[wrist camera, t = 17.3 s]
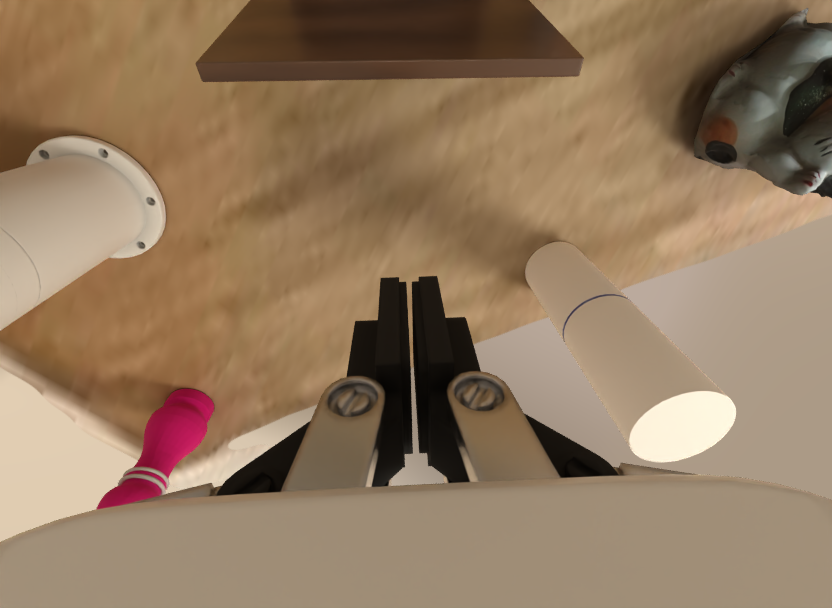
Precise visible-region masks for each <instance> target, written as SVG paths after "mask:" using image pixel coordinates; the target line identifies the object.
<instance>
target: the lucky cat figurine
mask: <svg viewBox="0 0 832 608" xmlns="http://www.w3.org/2000/svg"><path fill="white" fill-rule="evenodd" d="M807 12H808V8H807V9H805V10H802V11H800V12H798V13H796V14H794V15H792V16H791V17H790V18H789V19H788V20H787V21H786V22H785V23H784V24H783V25H782V26H781V27H780V28H779V29H778V30H777V31H776V32H775V33H774V34H773V35H772V36H770V37H769V38H768V39H767V40H766V41H765V42H763V43H762V44H760V45H759V46H757V47H756V48H754V49H753V50H751V51H750V52H748V53H747V54H745V55H744V56H742V57H741V58H739V59H738V60H736V61H735V63H733V64H732V65H731V67H730V68H729V69H728V70H727V72H726V73H725V74H724V75H723V76H722V77H721V78H720V79H719V81H718V83H717V85H716V86H715V88H714V90H713V91H712V93H711V96H710V98H709V101H708V104H707V106H706V108H705V110H704V113H703V117H702V119H701V122H700V125H699V128H698V130H697V131H698V132H697V135H696V137H695V138H694V139H695V140H694V156H695V157H696V158H699V159H702V160H706V161H708V162H710V163H713V164H715V165H718V166H720V167H722V168H727V169H733V168H740V169H747V170H751V171H756V172H757V173H758V174H760V175H761V176H762V177H764V178H766V179H767V180H770V181H772V182H773V184H774V185H775V186H778V187H780V188H783V189H785V190H787V191H789V192H791V193H793V194H797V195H803V194H807V193H809V192H811V193H819V194H820V195H821V197H825V196H828V197H831V198H832V23H817V24H815V23H807V20H806V14H807Z"/></svg>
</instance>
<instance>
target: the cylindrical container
mask: <svg viewBox="0 0 832 608" xmlns="http://www.w3.org/2000/svg"><path fill="white" fill-rule="evenodd" d="M525 277H526V281H527V283H528V284H529V286H530V288H531V289H532V291H533V292H534V294H535V296H536V297H537V299H538V300H539V302H540V304H541V305H542V307H543V309H544V310H545V312H546V313H547V315H548V317H549V318H550V320H551V321H552V323H553V325H554V326H555V328H556V329H557V331H558V333H559V334H560V336H561V337H562V339H563V341H564V342H565V344H566V345H567V347H568V349H569V350H570V352H571V353H572V355H573V357H574V358H575V360H576V361H577V363H578V365H579V366H580V368H581V370H582V371H583V373H584V374H585V376H586V378H587V379H588V381H589V382H590V384H591V386H592V387H593V389H594V390H595V392H596V394H597V395H598V397H599V398H600V400H601V402H602V403H603V405H604V406H605V408H606V410H607V411H608V413H609V414H610V416H611V417H612V419H613V421H614V422H615V424H616V425H617V427H618V429H619V430H620V432H621V434H622V435H623V437H624V438H625V440H626V441H627V443H628V445H629V446H630V448H631V450H632V451H633V453H634V454H636V455H637V456H638V457H640V458H642V459H644V460H648V461H652V462H670V461H677V460H681V459H685V458H689V457H691V456H693V455H696V454H698V453H701V452H702V451H705V450H706V449H708V448H709V447H711V446H713V445H714V444H715V443H717V442H718V441H719V440H720V439H722V438H723V437H724V436H725V434H726V433H727V432H728V431H729V430H730V428H731V426H732V425H733V423H734V420H735V417H736V409H735V405H734V403H733V402H732V401H731V399H730V398H729V397H727V395H726V394H725V393H724V392H723V391H722V390H721V389H720V388H718V386H717V385H716V384H714V382H712V380H710V379H709V378H708V377H707V376H706V375H705V374H704V373H703V372H702V371H701V370H700V369H699V368H698V367H697V366H696V365H695V364H694V363H693V362H692V361H691V360H690V359H689V358H688V357H687V356H686V355H685V354H684V353H683V352H682V351H681V350H680V349H679V348H678V347H677V346H676V345H675V344H674V343H673V342H672V341H671V340H670V339H669V338H668V337H667V336H666V335H665V334H664V333H663V332H662V331H661V330H660V329H659V328H658V327H657V326H655V324H654V323H653V322H651V320H649V318H648V317H646V316H645V314H643V313H642V312H641V311H640V310H639V309H638V308H637V307H636V306H635V305H634V304H633V303H632V302H631V301H630V300H629V299H628V298H627V297H626V296H625V295H624V294H623V293H622V292H621V291H620V290H619V289H618V288H617V287H616V286H615V285H614V284H613V283H612V282H611V281H610V280H609V279H608V278H607V277H606V276H605V275H604V274H603V273H602V272H601V271H600V270H599V269H598V268H597V267H596V266H595V265H594V264H593V263H592V262H591V261H590V260H589V259H588V258H587V257H586V256H585V255H584V254H583V253H582V252H581V251H580V250H579V249H578V248H576V247H575V246H574V245H572V244H570V243H567V242H553V243H549V244H546V245H544V246H542V247H541V248H539V249H538V250H537V251H535V252H534V254H533V255H532V256H531V257H530V259H529V260H528V263H527V265H526V269H525Z"/></svg>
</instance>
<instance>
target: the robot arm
mask: <svg viewBox="0 0 832 608" xmlns="http://www.w3.org/2000/svg"><path fill="white" fill-rule="evenodd" d="M107 152H108V153H107ZM153 199H154V200H153ZM165 223H166V211H165V205H164V202H163V198H162V195H161V193H160V191H159V189H158V187H157V185H156V184H155V182H154V181H153V179H152V178H151V177H150V175H149V174H148V173H147V172H146V171H145V169H144V168H143V167H142V166H141V165H140V164H139V163H138V162H137V161H135V160H134V159H133V158H132V157H130V156H129V155H128V154H127V153H125V152H123V151H122V150H120V149H118V148H117V147H115V146H113V145H111V144H109V143H106V142H104V141H102V140H99V139H95V138H91V137H87V136H76V135H71V136H63V137H58V138H54V139H50V140H48V141H46V142H44V143H42V144H40V145H39V146H38V147H37V148H36V149H35V150H34V151H33V152H32V153H31V155H30V157H29V159H28V160H27V164H26V166H23V167H19V168H16V169H12V170H8V171H5V172H1V173H0V331H1V330H2V329H3V328H5V327H6V326H8V325H9V324H11V323H12V322H14V321H15V320H16V319H18V318H19V317H21V316H22V315H24V314H25V313H27V312H28V311H30V310H31V309H33V308H34V307H36V306H37V305H39V304H40V303H42V302H43V301H45V300H46V299H48V298H49V297H51V296H52V295H54V294H55V293H57V292H58V291H60V290H61V289H63V288H64V287H66V286H67V285H69V284H70V283H71V282H73V281H74V280H76V279H77V278H79V277H80V276H82V275H83V274H85V273H86V272H88V271H89V270H91V269H92V268H94V267H95V266H97V265H98V264H100V263H101V262H102V261H104V260H105V259H107V258H128V257H133V256H136V255H139V254H142V253H144V252H145V251H147V250H148V249H150V248H151V247H152V246H153V245H155V244H156V243H157V242H158V240H159V239H160V237H161V236H162V234H163V231H164V229H165ZM412 314H413V359H414V376H415V392H416V408H417V424H418V440H419V453H427V455H428V466H432V467H434V468H435V469H437V470H438V471H439V472H440V473H442V474H443V475H444V483H443V484H422V485H404V486H391V478H392V477H393V476H394V475H395V474H396V473H397V472H399V471H400V470H401V469H402V468H403V467H405V461H404V460H405V458H404V454H412V453H413V447H412V407H411V372H410V371H411V368H410V346H409V327H408V308H407V289H406V282H399V277H395V278H381V282H380V297H379V312H378V320H373V321H356V322H355V326H354V332H353V339H352V345H351V352H350V358H349V365H348V371H347V377H346V378H342V379H340V380H338V381H336V382H334V383H332V384H331V385H330V386H329V387H327V388H326V390H325V391H324V393H323V394H322V396H321V398H320V400H319V403H318V405H317V408H316V410H315V413H314V415H313V417H312V419H311V421H310V422H308V423H307V424H305V425H304V426H303V427H301V428H299V429H298V430H297V431H295V432H294V433H292V434H291V435H290V436H288V437H287V438H285V439H284V440H282V441H281V442H279V443H278V444H277V445H275V446H273V447H272V448H270V449H269V450H268V451H266V452H265V453H263V454H262V455H260V456H259V457H257V458H256V459H255V460H253V461H252V462H250V463H249V464H247V465H246V466H244V467H243V468H241V469H240V470H239V471H237V472H236V473H234V474H233V475H232V476H231V477H230V478H229V479H227V480H226V481H225V483H224V484H223V485H222V486H219V487H215V488H214V487H213V485H212V483H209V484H205V485H201V486H197V487H192V488H188V489H184V490H181V491H176V492H172V493H168V494H164V495H160V496H156V497H152V498H148V499H144V500H140V501H136V502H132V503H128V504H124V505H120V506H114V507H109V508H103V509H97V510H93V511H89V512H85V513H82V514H78V515H74V516H70V517H66V518H63V519H59V520H56V521H53V522H50V523H48V524H45V525H42V526H39V527H36V528H34V529H31V530H28V531H25V532H22V533H20V534H18V535H16V536H13V537H11V538H8V539H6V540H4V541H2V542H0V608H832V500H830V499H827V498H825V497H822V496H819V495H816V494H813V493H810V492H806V491H802V490H799V489H795V488H791V487H788V486H784V485H780V484H776V483H770V482H764V481H758V480H752V479H746V478H741V477H729V476H716V475H697V474H691V473H684V472H677V471H671V470H664V469H658V468H651V467H644V466H638V465H632V464H625V463H621V464H620V466H619V468H616V467H612V466H611V465H610V464H609V463H608V462H607V461H605V460H604V459H603V458H601V457H600V456H598V455H597V454H595V453H593V452H591V451H590V450H588V449H586V448H584V447H583V446H581V445H579V444H577V443H575V442H574V441H572V440H570V439H568V438H566V437H565V436H563V435H561V434H560V433H558V432H556V431H554V430H553V429H551V428H549V427H547V426H545V425H544V424H542V423H540V422H538V421H536V420H535V419H533V418H531V417H529V416H528V415H526V414H524V413H523V411H522V409H521V408H520V406H519V404H518V403H517V401H516V399H515V397H514V395H513V394H512V392H511V390H510V388H509V387H508V386H507V385H506V383H505V382H504V381H503V380H501V379H500V378H498V377H497V376H495V375H492V374H490V373H486V372H481V371H480V367H479V363H478V360H477V356H476V353H475V349H474V346H473V342H472V338H471V335H470V331H469V328H468V324H467V321H466V318H465V317H457V318H445V313H444V308H443V303H442V298H441V293H440V288H439V283H438V278H437V276H427V277H419V281H418V282H412Z"/></svg>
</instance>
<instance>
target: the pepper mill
mask: <svg viewBox="0 0 832 608" xmlns="http://www.w3.org/2000/svg"><path fill="white" fill-rule="evenodd" d="M213 411H214V404H213V402H212V400H211V399H210V398H209V397H208V396H207V395H205V394H204V393H202V392H200V391H197V390H194V389H180V390H177V391H174V392H173V393H172V394H171V395H170V396H169V397H168V399H167V400H166V402H165V403H164V406H163V407H162V408H160V409H158V410H156V411H155V412H154V413H153V414H152V416H151V417H150V419H149V421H148V423H147V425H146V429H145V434H144V445H143V451H142V454H141V457H140V459H139V460H138V462H137V464H136V465H135V466H134V467H133V468H131V469H129V470H127V471H126V472H125V473H124V475H123V478H121V479H120V481H119V483H118V486H117V487H115V488H114V489H112V490H110V491H109V492H108V493H106V494H105V495H104V497H103V498H102V500H101V501H100V503H99V505H98V507H97V509H103V508H109V507H114V506H120V505H124V504H128V503H132V502H136V501H140V500H144V499H148V498H152V497H156V496H160V495H164V494H165V492H166V490H167V488H168V487H169V480H168V478H169V475H170V473H171V472H172V470H173V468H174V467H175V465H176V464H177V463H178V462H179V461H180V460H181V459H183V458H184V457H185V456H186V455H188V454H189V453H190V452H192V451H193V450H194V449H195V448H196V447H197V446H198V445H199V444H200V443H201V441H202V440H203V438H204V437H205V435H206V432H207V422H208V421H209V419H210V417H211V415H212V413H213ZM97 509H96V510H97Z"/></svg>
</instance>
